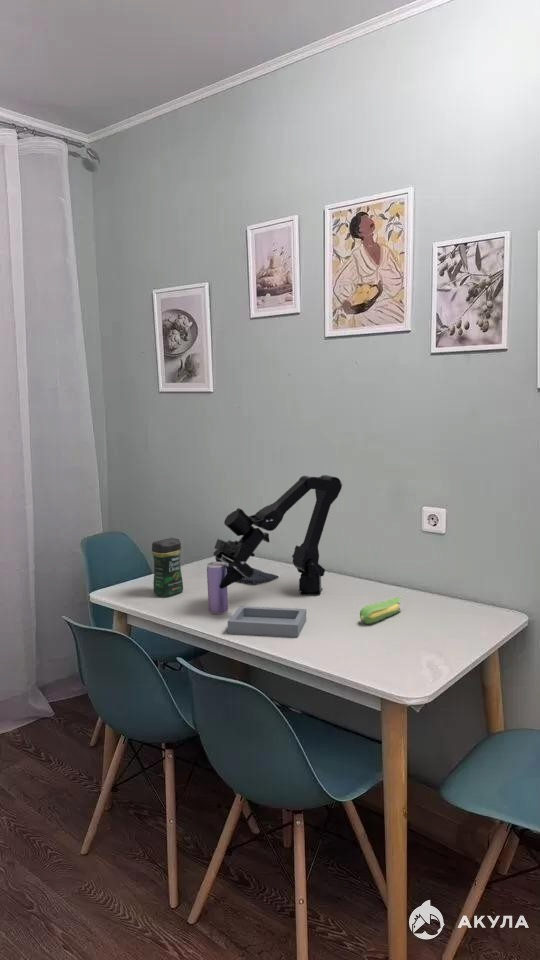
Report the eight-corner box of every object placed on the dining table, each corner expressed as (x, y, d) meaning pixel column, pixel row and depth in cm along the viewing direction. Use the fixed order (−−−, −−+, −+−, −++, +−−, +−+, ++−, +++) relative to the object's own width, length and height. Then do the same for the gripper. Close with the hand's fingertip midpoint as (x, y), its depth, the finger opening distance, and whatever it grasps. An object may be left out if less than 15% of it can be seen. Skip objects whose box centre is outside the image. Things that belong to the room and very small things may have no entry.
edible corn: (353, 609, 199) (365, 608, 196) (396, 595, 213) (408, 593, 209) (357, 627, 199) (369, 626, 196) (400, 611, 212) (412, 610, 209)
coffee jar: (165, 599, 226) (162, 543, 224) (150, 594, 232) (146, 540, 229) (187, 591, 234) (184, 537, 231) (172, 587, 239) (169, 534, 236)
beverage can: (225, 615, 210) (223, 567, 207) (206, 614, 211) (204, 566, 209) (230, 608, 215) (228, 561, 213) (211, 607, 217) (209, 561, 214)
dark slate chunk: (251, 589, 236) (250, 575, 235) (209, 577, 251) (208, 564, 250) (282, 579, 246) (282, 566, 245) (240, 568, 262) (240, 555, 261)
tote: (306, 620, 203) (306, 609, 202) (298, 637, 190) (297, 625, 190) (240, 617, 208) (239, 606, 207) (228, 633, 195) (227, 621, 194)
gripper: (217, 523, 220) (186, 563, 216) (243, 535, 203) (210, 577, 200) (240, 544, 225) (210, 583, 221) (267, 557, 208) (236, 599, 205)
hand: (216, 585), depth 212 cm, fingers closed on beverage can, 6 cm apart
